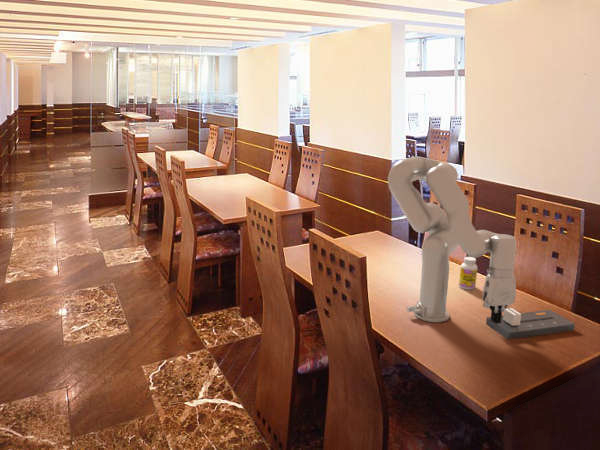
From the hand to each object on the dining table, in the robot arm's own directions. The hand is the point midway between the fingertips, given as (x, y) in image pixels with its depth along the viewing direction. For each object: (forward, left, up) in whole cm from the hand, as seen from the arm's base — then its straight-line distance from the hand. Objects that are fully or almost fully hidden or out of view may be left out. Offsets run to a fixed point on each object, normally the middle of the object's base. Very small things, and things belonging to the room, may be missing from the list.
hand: (495, 321), depth 169 cm
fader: (+7, 0, -1) cm, 7 cm away
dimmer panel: (+15, 0, -4) cm, 15 cm away
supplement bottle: (+15, +38, -4) cm, 41 cm away
